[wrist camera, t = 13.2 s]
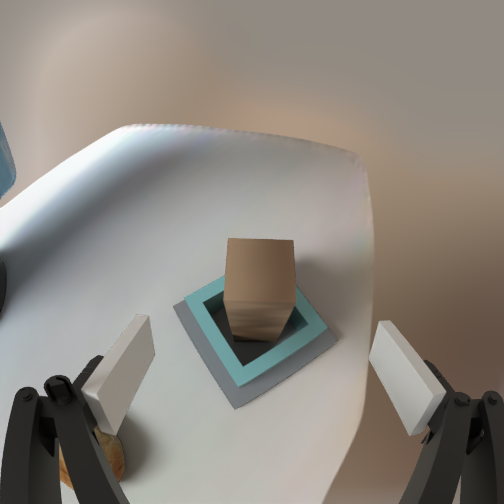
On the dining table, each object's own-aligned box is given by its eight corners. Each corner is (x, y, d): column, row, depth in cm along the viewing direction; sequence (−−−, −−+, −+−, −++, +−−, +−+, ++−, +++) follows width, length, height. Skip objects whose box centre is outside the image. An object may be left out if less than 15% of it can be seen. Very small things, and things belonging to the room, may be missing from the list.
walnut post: (234, 341, 25) (223, 300, 15) (235, 302, 27) (228, 238, 17) (275, 342, 25) (296, 302, 15) (275, 303, 27) (293, 240, 17)
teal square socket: (175, 309, 28) (161, 292, 23) (269, 255, 31) (273, 231, 27) (235, 409, 23) (232, 412, 19) (335, 342, 26) (351, 331, 22)
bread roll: (146, 445, 23) (129, 427, 18) (112, 511, 15) (84, 510, 10) (79, 405, 25) (53, 376, 20) (44, 462, 16) (7, 444, 12)
